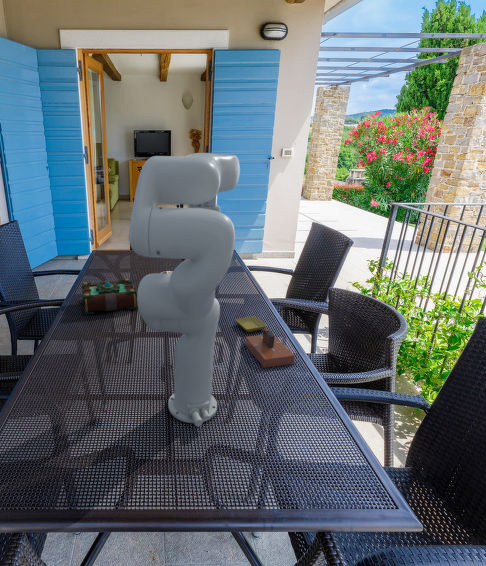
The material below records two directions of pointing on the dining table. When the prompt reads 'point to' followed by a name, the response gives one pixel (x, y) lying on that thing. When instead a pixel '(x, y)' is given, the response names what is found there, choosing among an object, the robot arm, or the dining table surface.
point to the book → (108, 296)
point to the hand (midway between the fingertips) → (201, 260)
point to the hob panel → (269, 352)
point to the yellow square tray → (251, 323)
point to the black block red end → (268, 338)
